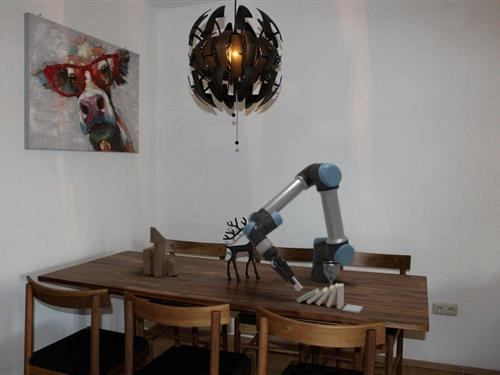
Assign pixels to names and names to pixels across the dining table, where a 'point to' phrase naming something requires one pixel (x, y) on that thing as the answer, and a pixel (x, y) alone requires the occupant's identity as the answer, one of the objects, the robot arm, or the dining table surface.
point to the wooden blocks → (158, 257)
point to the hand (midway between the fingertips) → (300, 289)
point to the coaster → (352, 308)
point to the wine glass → (331, 270)
